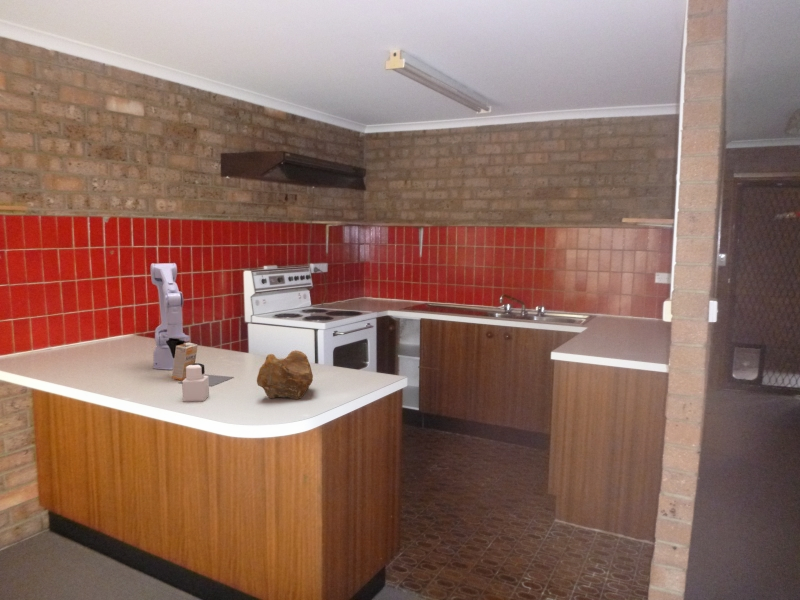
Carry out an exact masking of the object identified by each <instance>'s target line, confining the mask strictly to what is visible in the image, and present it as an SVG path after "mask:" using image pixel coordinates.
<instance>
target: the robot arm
mask: <svg viewBox="0 0 800 600" xmlns="http://www.w3.org/2000/svg"><path fill="white" fill-rule="evenodd" d="M177 275H178V266H177V263H175V262H173V263H172V262H171V263H170V262H169V263H168V262H167V263H166V262H165V263H164V262H163V263H153V262H152V263H151V264H150V277H151V280H150V281H151V283H152V285H155V287H156V288H157V291H158V301H159V302H158V303H159V311H160V322H161V324H159V325H158V326H157V327H155V330H154V341H155V346H156V347H155V348H154V350H153V355H152V356H153V366H152V369H157V370H167V371H171V370H172V371H173V365H174V358H175V351H176V346H178V345H181V344H184V343H186V342H190V341H191V336H190V335H187V334H185V332H184V331H183V330H184V329H183V328H184V327H183V307H184V297H183V296H184V295H183V292H182V291H179V287H178V284H177V282H176V280H177Z"/></svg>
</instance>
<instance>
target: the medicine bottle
mask: <svg viewBox="0 0 800 600" xmlns="http://www.w3.org/2000/svg"><path fill="white" fill-rule="evenodd" d="M204 375H205V365H204V364H203V363H197V362H195V363H194V364H189V365H187V366H186V377H187V378H186V379H184V380H181V381H182V383H181V384H182V401H183V402H204V401H206V399H207V398H208V397H209V395H210V386H209V377H208V376H204Z"/></svg>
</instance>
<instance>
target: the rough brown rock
mask: <svg viewBox="0 0 800 600" xmlns="http://www.w3.org/2000/svg"><path fill="white" fill-rule="evenodd" d="M264 360H265V361H264V363H263V364H262V365H261V367H260V368H259V369H258V374H257V377H256V384H257V386H259V387H261V388H262V389H263V391H264V393H265V395H266V397H268V399H269V398H270V399H275V398H277V397H279V398H287V397H288V398H291V399H294V400H299V399H301V398H302V397H303V396H304V395H305V393H306V391H307V390H308V389H309V388H310V386H311V385H312V383H313V378H314V375H313V369H312V367H311V364H310V361H309V359H308V356H307V355H306V353H304V352H303V351H300V350H297V349H296V350H292V351H291V352H290V353H289V354H288V355H287V356H286V357H285V358H277V357H276V355H275V354H272V353H269V354H267V355H266V357H265V359H264Z"/></svg>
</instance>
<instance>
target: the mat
mask: <svg viewBox="0 0 800 600" xmlns="http://www.w3.org/2000/svg"><path fill="white" fill-rule="evenodd" d="M204 376H208V377H209V387H214V386H217V385H219V384H222V383H224V382H226V381H229V380H231V379H233V378H235V377H234V376H227V375H215V374H205V375H204ZM182 381H183V380H180V381H178V384H182Z"/></svg>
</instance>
